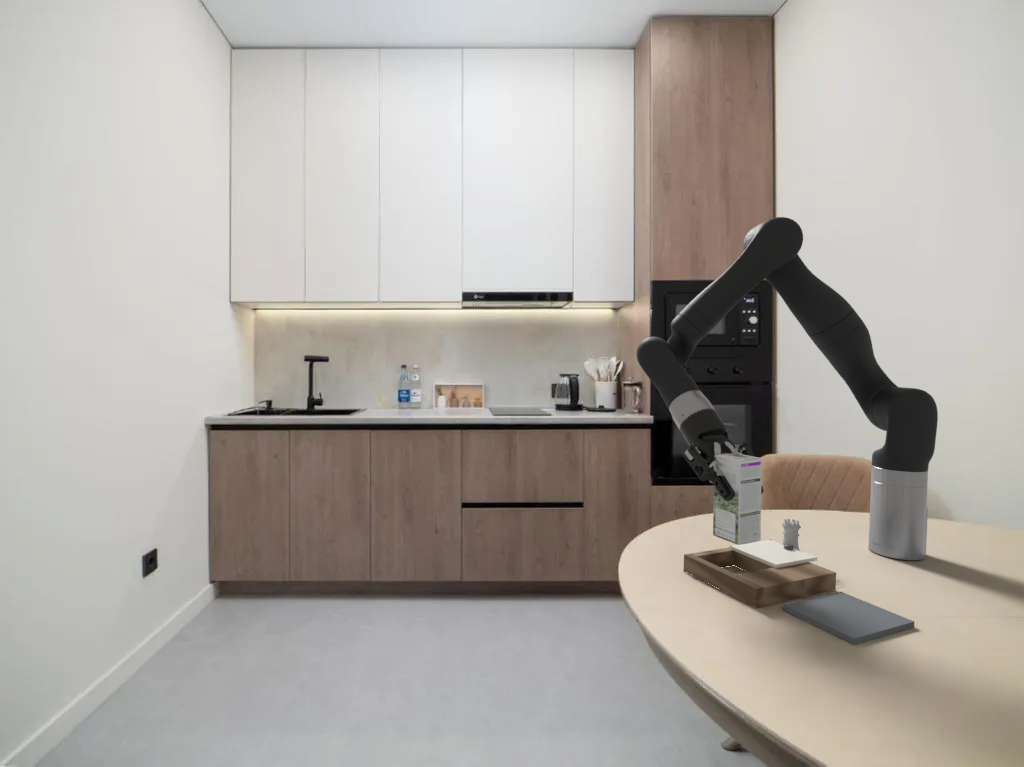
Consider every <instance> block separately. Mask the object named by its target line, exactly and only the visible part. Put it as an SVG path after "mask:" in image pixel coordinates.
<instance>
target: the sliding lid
mask: <svg viewBox="0 0 1024 767" xmlns="http://www.w3.org/2000/svg"><path fill="white" fill-rule="evenodd" d="M782 544H783V543H779V542H777V541H774V540H771V539H766V540H760V541H757V542H752V543H748V544H741V545H737V544H735V545H730V546H729V547H730V549H731V550H733V551H736V552H738V553H740V554H743V555H745V556H748V557H750V558H753V559H755V560H757V561H760V562H762V563H765V564H767V565H769V566H772V567H774V568H780V567H785V566H790V565H796V564H801V563H806V562H810V563H813V562H815V561H818V557H817V556H815V555H813V554H810V553H807V552H804V551H802V550H800V549H799V550H800V551H799V550H796V549H793V545H790V544H784V545H782Z"/></svg>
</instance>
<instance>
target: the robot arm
mask: <svg viewBox="0 0 1024 767" xmlns="http://www.w3.org/2000/svg"><path fill="white" fill-rule="evenodd" d="M803 233H804V232H803V229H802V227H801V226H800V225H799V223H798V222H797V221H795V220H794V219H792V218H789V217H784V216H780V217H779V216H777V217H772V218H768V219H767V220H764V221H763V222H761V223H759V224H757V225H755V226H753V227H752V228H751V229H750V230H749V231H748V232H747V234H746V235H745V237H744V239H743V245H742V246H743V247H742V248H743V252H742V253H741V254H740V255H739V256H738V258H737V259H736V260H735V261H734V262H733V263H732V264H731V265H730V266H729V267H728V268H727V269H726V270H725V271H724V272H723V273H722V274H721V275H719V276H718V277H717V278H716V279H715V280H713V281H712V282H711V283H710V284H709V285H707V286H706V287H705V288H704V289H702V291H700V293H698V294H697V295H696V296H695V297H694V298H693V299H692V300H691V301H690V302H689V303H688V304H687V305H686V306H685V307H684V308H683V309H682V310H681V311H680V312H679V313H678V314H677V315H676V316H675V317H674V318H673V319H672V321H671V323H670V330H671V335H670V336H669V338H668V339H667V341H666V340H665V339H663V338H662V337H659V336H649V337H646V338H644V339H643V340H642V341H640V343H639V344H638V346H637V349H636V360H637V362H638V364H639V366H640V367H641V369H642V371H643V372H644V373H645V375H646V376H647V377H648V379H649V380H650V381H651V383H652V384H653V385H654V387H655V388H656V389H657V391H658V393H659V395H660V396H661V397H660V398H662V400H663V402H664V404H665V405H666V406H665V407H667V409H668V410H669V412H670V414H671V417H672V420H673V421H674V423H675V425H676V426H677V428H678V430H679V431H680V434H681V436H683V438H684V440H685V442H686V443H687V445H688V448H687V449H686V450H684V452H683V453H682V457H683V458H684V460H685V461H686V463H687V464H688V465H689V466H690V468H691V469H692V471H693V472H694V474H695V475H696V476H697V477H698V479H699V480H700V481H702V482H705V481H709V483H711V484H712V485H713V487H714V486H715V487H716V489H717V490H718V492H719V494H720V496H721V497H722V498H724V500H725V501H730V500H731V499H732V498H733V497H734V496H735V492H734V490H733V489H732V487H731V486H730V484H729V482H728V481H727V479H726V478H725V476H722V475H723V474H722V471H721V469H720V467H719V465H718V464H719V462H718V460H717V458H716V456H718V455H721V454H725V453H737V454H742V455H747V456H753V457H756V456H755V455H754V453H753V451H752V449H751V447H750V446H749V444H748V442H746V441H743V442H742V443H740V444H737V443H735V442H734V441H733V440H732V439H731V438H729V436H728V427H727V425H726V424H725V422H724V420H722V418H721V417H720V415H719V413H718V412H717V410H716V409H715V407H714V406H713V404H712V403H711V401H710V400H709V399H708V398H707V397H706V395H704V393H703V392H702V391H701V389H700V388H699V386H698V384H697V383H696V382H695V380H694V379H693V377H692V376H691V375H690V374H689V373H688V372H687V371H686V370H685V369H684V366H685V365H686V364H687V363H688V361H689V360H690V357H691V356H692V354H693V353H694V351H695V349H696V348H697V347H698V345H699V343H700V342H701V341H702V340H703V339H705V337H707V335H708V334H709V333H710V332H711V331H712V330H713V329H714V328H716V326H717V325H718V324H719V323H720V322H721V321H722V320H723V319H724V318H725V317H726V316H727V315H728V314H729V313H730V312H731V310H733V309H734V307H735V306H736V305H737V304H738V303H739V302H741V301H742V299H743V298H745V297H746V296H747V295H748V294H749V293H750V292H751V291H753V289H754V288H755V287H756V286H758V285H759V284H760V283H762V282H763V281H764V280H766V282H768V283H769V284H770V285H771V287H772V288H773V289H774V290H775V292H776V293H778V295H779V296H780V297H781V298H782V301H783V302H784V303H785V304H786V307H787V308H788V309H789V311H790V312H791V313H792V316H793V317H794V318H795V319H796V320H797V321H798V323H799V324H800V325H801V327H802V328H803V330H804V331H805V333H806V335H807V336H808V337H809V338H810V340H811V341H812V342H813V343H814V345H815V346H816V347H817V349H818V350H819V351H820V352H821V354H823V355H824V357H825V358H826V359H827V361H828V362H829V364H830V366H832V367H833V368H834V371H835V372H837V374H838V375H839V376H840V377H841V379H842V380H843V381H844V383H845V384H846V385H847V387H848V388H849V390H850V392H851V393H852V395H853V396H854V398H855V400H856V402H857V404H858V405H859V406H860V408H861V410H862V411H863V414H864V415H865V417H866V418H867V420H868V421H869V422H870V423H871V424H872V425H873V426H874V427H876V428H877V429H880V430H882V431H885V432H886V433H885V441H884V444H883V446H882V447H880V448H879V449H876V450H874V451H873V452H872V454H871V474H870V475H871V477H870V501H869V522H868V523H869V524H868V526H869V527H868V547H867V548H868V549H869V551H870V552H873V553H875V554H878V555H881V556H883V557H887V558H891V559H896V560H897V559H898V560H904V561H921V560H923V559H925V555H927V538H928V537H927V536H928V519H929V518H928V516H929V515H928V514H929V511H928V510H929V508H928V507H927V506H928V505H927V504H928V503H927V502H928V484H929V482H928V479H929V465H930V462H931V460H932V459H933V456H934V453H935V449H936V438H937V430H938V429H937V428H938V420H939V416H938V414H939V413H938V406H937V403H936V401H935V399H934V397H933V396H932V395H931V394H930V393H929V392H927V391H925V390H923V389H920V388H913V387H899V386H898V385H896V384H895V383H894V382H893V381H892V380H891V378H889V376H888V375H887V374H886V372H885V371H884V370H883V369H882V368H881V366H880V365H879V363H878V361H877V359H876V357H875V353H874V349H873V342H872V337H871V334H870V331H869V329H868V327H867V325H866V324H865V322H864V321H863V320H862V318H861V317H860V316H859V314H858V313H857V312H856V310H855V309H854V307H853V306H852V305H851V303H849V302H848V300H846V299H845V298H844V297H843V296H842V295H841V294H840V293H838V292H837V291H836V290H835V289H833V288H832V287H831V286H829V285H828V284H826V282H824V281H822V280H821V279H820V278H818V276H816V275H815V274H814V273H813V272H812V271H811V270H810V269H809V268H808V267H807V266H806V264H805V262H804V261H803V260H802V258H801V257H800V256H799V252H800V251H801V248H802V246H803V242H804V234H803ZM714 455H715V457H714ZM701 468H702V469H701ZM764 491H765V490H764V486H763V485H762V484H761V495H762V494H763V493H764Z"/></svg>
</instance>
